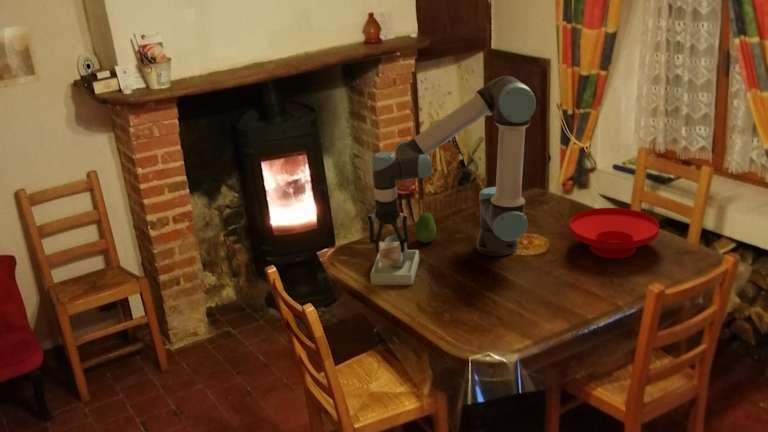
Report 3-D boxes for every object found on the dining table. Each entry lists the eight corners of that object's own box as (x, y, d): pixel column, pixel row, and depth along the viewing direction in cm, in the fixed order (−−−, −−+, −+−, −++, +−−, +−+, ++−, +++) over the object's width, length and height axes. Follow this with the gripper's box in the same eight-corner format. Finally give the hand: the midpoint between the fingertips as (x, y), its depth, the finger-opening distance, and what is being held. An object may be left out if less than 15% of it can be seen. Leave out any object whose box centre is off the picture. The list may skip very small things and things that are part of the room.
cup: (406, 270, 289) (403, 244, 285) (384, 270, 291) (382, 244, 287) (410, 260, 296) (408, 235, 292) (389, 260, 298) (386, 235, 294)
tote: (419, 259, 298) (418, 250, 296) (412, 284, 280) (411, 274, 279) (380, 260, 300) (379, 250, 299) (371, 285, 283) (370, 274, 281)
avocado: (441, 241, 311) (439, 212, 306) (424, 248, 307) (422, 218, 302) (428, 235, 317) (426, 206, 312) (411, 241, 313) (409, 212, 309)
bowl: (562, 263, 285) (562, 237, 281) (577, 228, 311) (577, 204, 307) (653, 271, 274) (655, 244, 270) (661, 235, 300) (662, 209, 296)
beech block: (401, 257, 285) (400, 241, 282) (398, 265, 279) (397, 249, 277) (384, 257, 286) (382, 241, 283) (381, 265, 280) (380, 249, 278)
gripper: (415, 193, 275) (420, 255, 284) (360, 194, 279) (366, 255, 288) (412, 201, 269) (417, 265, 277) (356, 202, 272) (362, 265, 281)
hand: (391, 260), depth 282 cm, fingers closed on beech block, 6 cm apart
